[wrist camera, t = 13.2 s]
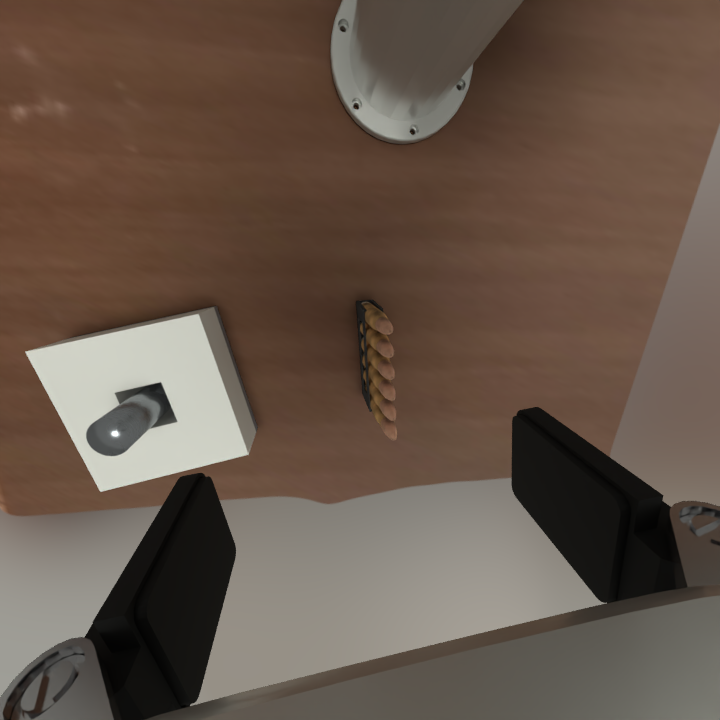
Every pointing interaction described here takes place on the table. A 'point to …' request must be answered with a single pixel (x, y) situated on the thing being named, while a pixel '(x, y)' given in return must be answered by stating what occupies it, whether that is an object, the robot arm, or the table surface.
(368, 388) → the ammunition clip
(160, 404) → the pin
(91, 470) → the socket block
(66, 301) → the table surface
